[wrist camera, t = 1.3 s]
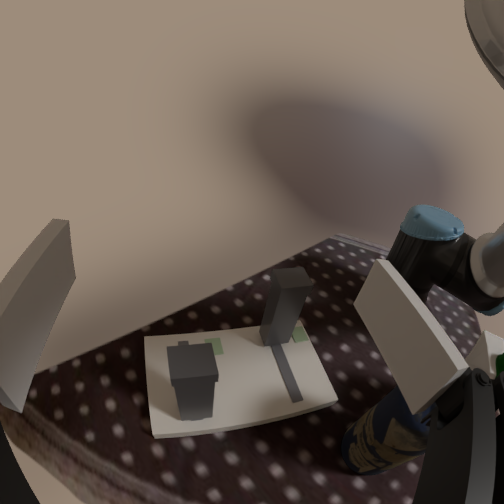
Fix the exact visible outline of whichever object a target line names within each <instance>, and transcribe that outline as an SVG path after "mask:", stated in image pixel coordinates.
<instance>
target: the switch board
mask: <svg viewBox="0 0 504 504" xmlns="http://www.w3.org/2000/svg"><path fill="white" fill-rule="evenodd" d="M259 330H260V326H254V327H246V328H238V329H229V330H220V331H210V332H200V333H188V334H176V335H162V336H145V337H144V345H145V364H146V379H147V391H148V401H149V410H150V419H151V427H152V434H153V436H154V438H170V437H182V436H192V435H201V434H209V433H216V432H223V431H229V430H235V429H241V428H246V427H251V426H256V425H261V424H265V423H270V422H274V421H278V420H282V419H286V418H290V417H294V416H298V415H302V414H305V413H309V412H312V411H315V410H319V409H322V408H325V407H328V406H331V405H334V404H335V403H336V402H337V400H338V398H337V395H336V393H335V391H334V389H333V387H332V385H331V383H330V381H329V379H328V376H327V374H326V372H325V370H324V368H323V366H322V364H321V362H320V360H319V358H318V356H317V354H316V351H315V349H314V347H313V345H312V343H311V341H310V339H309V337H308V335H307V333H306V331H305V329H304V327H303V325H302V323H301V321H300V320H297V323H296V325H295V328H294V330H293V333H292V335H291V338H290V340H289V343H284V344H278V345H272V346H266V347H264V344H263V341H262V338H261V336H260V333H259ZM202 343H212V347H213V351H214V356H215V360H216V364H217V368H218V372H219V378H218V382H215V390H214V403H213V416H212V417H211V418H204V419H195V420H185V421H181V417H180V413H179V408H178V403H177V399H176V394H175V389H174V387H172V385H171V380H170V373H169V365H168V356H167V346H180V345H192V344H202Z"/></svg>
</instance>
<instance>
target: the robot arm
mask: <svg viewBox="0 0 504 504" xmlns="http://www.w3.org/2000/svg"><path fill="white" fill-rule="evenodd" d="M464 1H465V17H466V23H467V27H468V30H469V33H470V35H471V38H472V41H473V43H474V46H475V48H476V50H477V52H478V54H479V55H480V57H481V59H482V61H483V62H484V64H485V65H486V67H487V68H488V70H489V71H490V73H491V74H492V75H493V76H494V78H495V79H496V80H497V82H498V83H499V84H500V86H501V87H502V88H503V89H504V0H464ZM75 279H76V277H75V270H74V264H73V256H72V248H71V239H70V227H69V221H68V220H60V219H52V220H51V222H50V223H49V224H48V225H47V226H46V227H45V228H44V229H43V230H42V231H41V233H40V234H39V235H38V236H37V237H36V238H35V240H34V241H33V242H32V243H31V244H30V246H29V247H28V248H27V249H26V250H25V252H24V253H23V254H22V255H21V257H20V258H19V259H18V260H17V262H16V263H15V264H14V266H13V267H12V268H11V269H10V271H9V272H8V273H7V275H6V276H5V278H4V279H3V280H2V282H1V283H0V403H1V404H2V405H3V406H5V407H7V408H10V409H12V410H15V411H17V412H20V413H22V411H23V407H24V403H25V400H26V397H27V393H28V390H29V387H30V384H31V381H32V378H33V375H34V372H35V369H36V367H37V364H38V361H39V359H40V356H41V353H42V351H43V348H44V346H45V343H46V341H47V338H48V336H49V334H50V331H51V329H52V326H53V324H54V322H55V320H56V318H57V315H58V313H59V311H60V309H61V307H62V305H63V303H64V300H65V298H66V296H67V294H68V292H69V290H70V288H71V286H72V284H73V282H74V280H75ZM434 284H435V285H437V286H439V287H440V288H442V289H444V290H445V291H447V292H449V293H450V294H452V295H454V296H455V297H457V298H458V299H460V300H461V301H463V302H465V303H466V304H468V305H469V306H471V307H472V308H473V309H474V310H475V311H478V312H480V313H482V314H484V315H487V316H492V315H495V314H498V313H499V312H501V311H502V310H503V309H504V223H503V224H502V225H501V226H500V227H499V229H498V230H497V231H496V232H495V233H486V234H483V235H482V236H480V237H479V238H478V239H477V240H476V239H474V238H472V237H471V236H469V235H467V234H466V233H464V225H463V223H462V222H461V221H460V220H459V219H458V218H456V217H454V215H453V214H451V213H449V212H447V211H445V210H443V209H440V208H437V207H434V206H430V205H416V206H413V207H412V208H411V209H410V210H409V211H408V213H407V215H406V217H405V219H404V221H403V222H402V223H401V225H400V231H399V233H398V235H397V237H396V240H395V242H394V244H393V246H392V248H391V250H390V252H389V254H388V256H387V259H386V260H381V259H376V260H375V262H374V264H373V267H372V269H371V271H370V273H369V275H368V277H367V279H366V281H365V283H364V285H363V287H362V288H361V290H360V292H359V294H358V296H357V298H356V300H355V302H354V304H353V305H354V307H355V308H356V310H357V312H358V313H359V315H360V317H361V319H362V320H363V322H364V324H365V326H366V327H367V329H368V331H369V333H370V334H371V336H372V338H373V340H374V342H375V343H376V345H377V347H378V349H379V351H380V353H381V354H382V356H383V358H384V360H385V362H386V364H387V366H388V367H389V369H390V371H391V373H392V375H393V377H394V379H395V381H396V383H397V385H398V387H399V389H400V391H401V393H402V395H403V396H404V398H405V400H406V403H407V405H408V407H409V409H410V411H411V413H412V415H414V414H417V413H420V412H423V411H425V410H426V409H427V408H428V407H430V406H431V405H432V404H433V403H434V402H435V403H436V405H437V406H436V407H435V408H434V409H433V410H432V411H431V412H430V413H428V414H427V415H426V416H425V417H424V418H423V419H422V420H421V424H423V423H424V422H425V421H426V420H428V419H429V418H431V419H430V420H429V421H428V422H427V423H426V424H425V425H426V426H428V427H430V429H429V435H428V441H427V447H426V452H425V457H424V462H423V466H422V470H421V475H420V479H419V482H418V486H417V490H416V493H415V497H414V500H413V503H412V504H504V371H502V372H501V373H500V374H499V375H498V376H497V377H496V378H495V379H490V378H489V376H488V375H487V374H486V372H484V371H483V370H482V369H479V368H474V369H473V370H471V368H470V367H469V366H468V364H467V363H466V361H465V360H464V358H463V357H462V355H461V354H460V352H459V351H458V349H457V348H456V346H455V345H454V344H453V342H452V341H451V339H450V338H449V337H448V335H447V334H446V332H445V331H444V330H443V328H442V327H441V326H440V324H439V323H438V322H437V320H436V319H435V318H434V316H433V315H432V314H431V312H430V311H429V310H428V308H427V307H426V306H425V304H426V301H427V297H428V293H429V291H430V289H431V288H432V286H433V285H434ZM498 409H499V411H500V415H499V416H498V417H496V418H495V412H496V411H497V410H498ZM0 504H40V503H39V501H38V499H37V498H36V496H35V494H34V493H33V491H32V489H31V488H30V486H29V484H28V482H27V480H26V478H25V476H24V474H23V473H22V471H21V469H20V467H19V465H18V463H17V461H16V458H15V456H14V454H13V452H12V449H11V447H10V445H9V442H8V440H7V438H6V435H5V433H4V430H3V427H2V425H1V422H0Z"/></svg>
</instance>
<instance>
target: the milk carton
mask: <svg viewBox="0 0 504 504" xmlns="http://www.w3.org/2000/svg"><path fill="white" fill-rule="evenodd" d="M464 360H465V361H466V363H467V364H468V366H469V367H470V368H471V370H473V369H474V368H479V369H482V370H483V371H484V372H486V374H487V375H488V376H489V378H490V379H495V378H496V377H497V376H498V375H499V374H500V373H501V372H502V371H504V339H503V338H501V337H499V336H496V335H494V334H492V333H490V332H488V331H486V330H484V331H483V333H482V334H481V336H480V338H479V340H478V341H477V343H476V344H475V346H474V348H473V349H472V351H471V352H470V354H469V355H468V356H467V357H466V358H465V359H464Z"/></svg>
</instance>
